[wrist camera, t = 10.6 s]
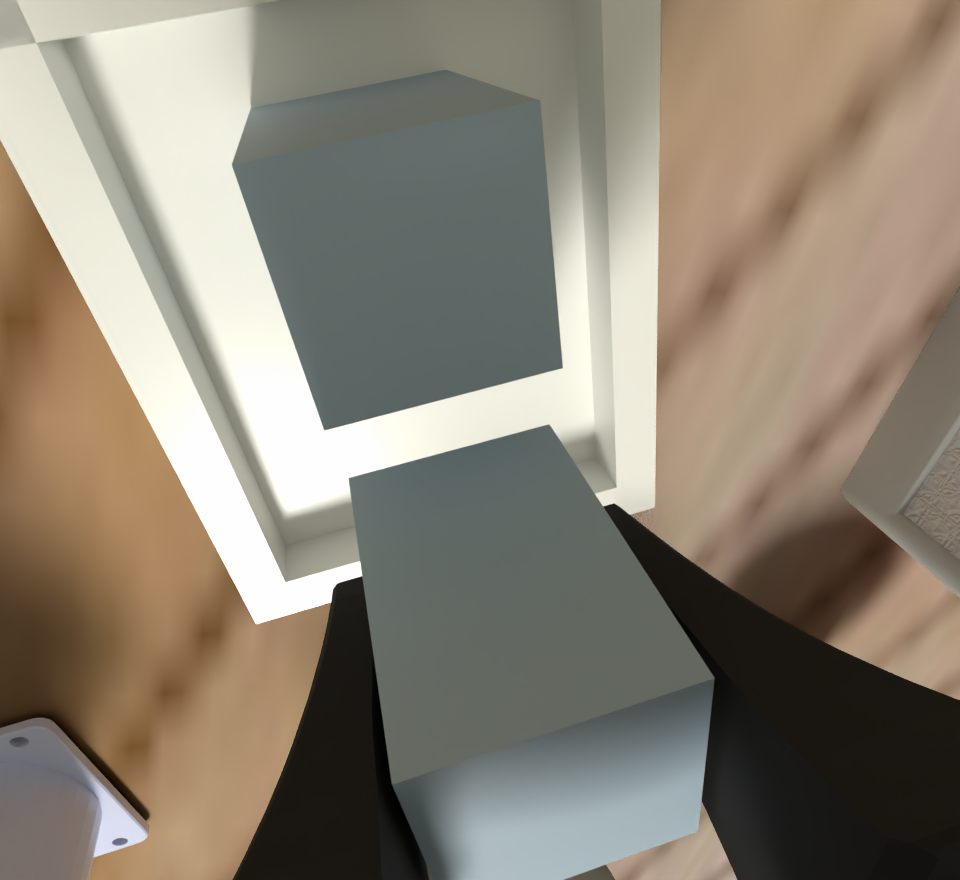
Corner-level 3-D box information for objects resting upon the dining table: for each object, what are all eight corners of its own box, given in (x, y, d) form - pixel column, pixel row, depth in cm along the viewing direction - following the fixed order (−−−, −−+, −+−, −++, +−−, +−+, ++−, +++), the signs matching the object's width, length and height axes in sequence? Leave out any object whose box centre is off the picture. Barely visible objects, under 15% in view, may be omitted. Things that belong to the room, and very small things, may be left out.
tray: (258, 562, 20) (255, 623, 18) (-28, -28, 12) (-93, -38, 10) (619, 461, 22) (655, 507, 20) (603, -130, 13) (662, -156, 11)
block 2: (394, 616, 15) (451, 920, 10) (348, 477, 12) (391, 785, 7) (563, 566, 15) (697, 830, 10) (549, 424, 13) (714, 677, 8)
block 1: (310, 297, 15) (324, 431, 10) (250, 107, 13) (231, 165, 8) (475, 258, 16) (562, 368, 11) (445, 69, 13) (539, 100, 8)
